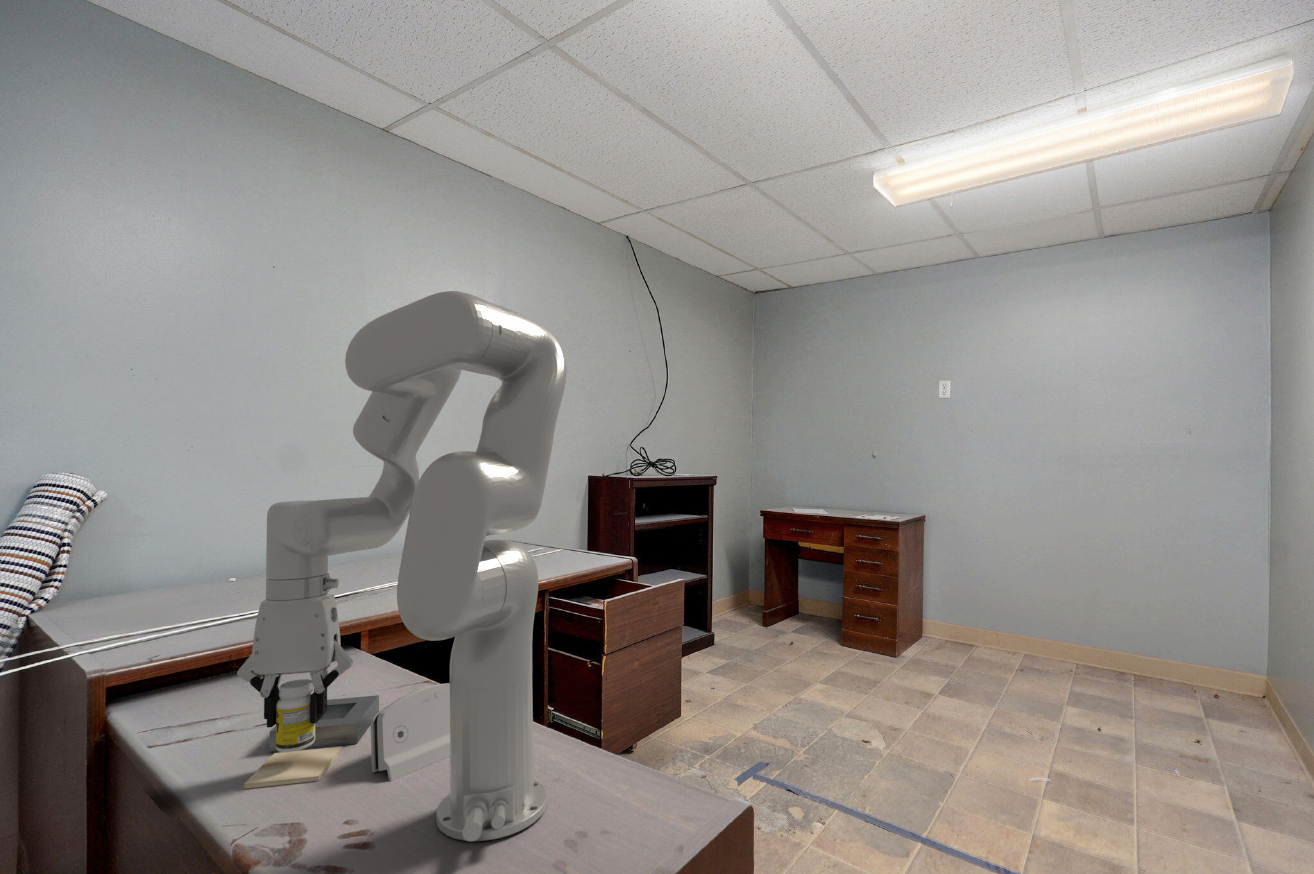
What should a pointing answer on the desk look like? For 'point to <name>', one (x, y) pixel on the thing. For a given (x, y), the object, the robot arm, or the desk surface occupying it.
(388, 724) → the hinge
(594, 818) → the desk surface
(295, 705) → the supplement bottle
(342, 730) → the socket block
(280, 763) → the pad
